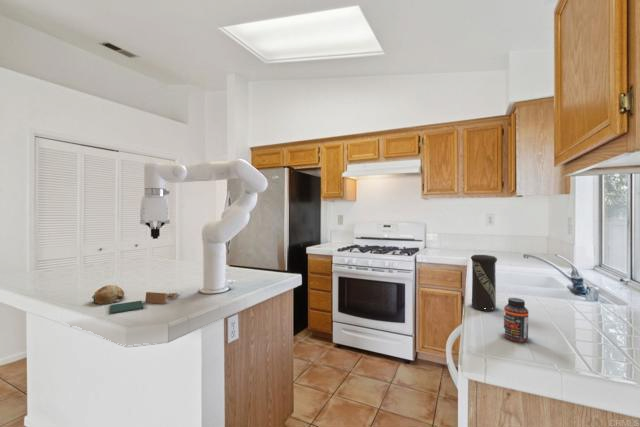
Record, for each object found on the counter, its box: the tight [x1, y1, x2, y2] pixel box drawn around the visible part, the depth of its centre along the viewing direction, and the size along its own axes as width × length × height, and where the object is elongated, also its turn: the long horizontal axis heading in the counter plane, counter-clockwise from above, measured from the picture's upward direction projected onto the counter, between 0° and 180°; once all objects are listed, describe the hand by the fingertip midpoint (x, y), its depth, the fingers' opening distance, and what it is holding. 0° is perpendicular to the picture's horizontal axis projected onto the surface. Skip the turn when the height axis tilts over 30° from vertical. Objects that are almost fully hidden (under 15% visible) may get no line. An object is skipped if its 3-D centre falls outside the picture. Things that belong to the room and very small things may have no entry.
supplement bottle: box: [503, 297, 529, 343], centre depth 87 cm, size 6×6×11 cm
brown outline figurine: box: [144, 291, 178, 305], centre depth 126 cm, size 9×4×12 cm
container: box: [470, 254, 498, 312], centre depth 115 cm, size 9×9×20 cm
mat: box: [109, 300, 144, 315], centre depth 114 cm, size 10×10×1 cm
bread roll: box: [91, 284, 125, 305], centre depth 122 cm, size 10×10×8 cm
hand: (155, 238), depth 123 cm, fingers closed
